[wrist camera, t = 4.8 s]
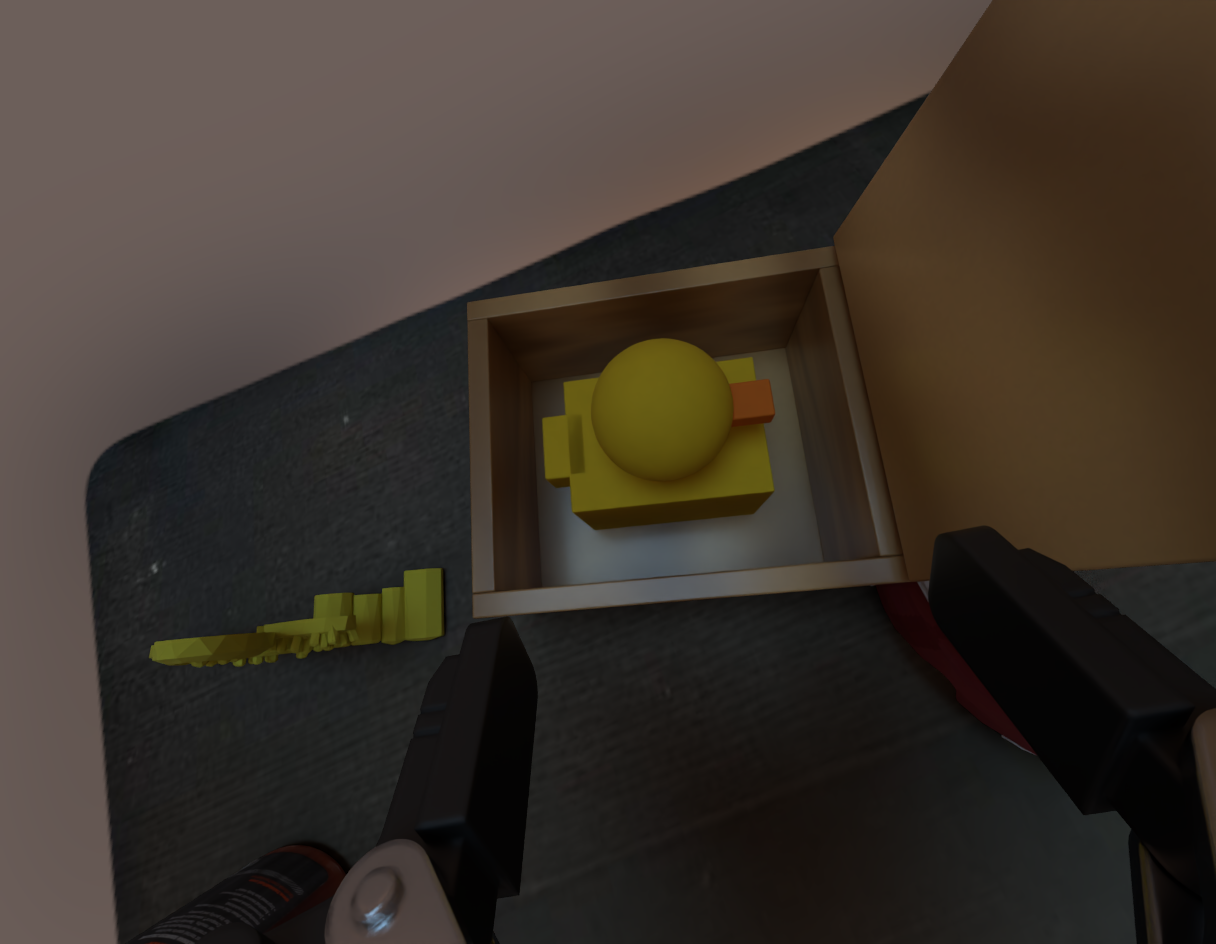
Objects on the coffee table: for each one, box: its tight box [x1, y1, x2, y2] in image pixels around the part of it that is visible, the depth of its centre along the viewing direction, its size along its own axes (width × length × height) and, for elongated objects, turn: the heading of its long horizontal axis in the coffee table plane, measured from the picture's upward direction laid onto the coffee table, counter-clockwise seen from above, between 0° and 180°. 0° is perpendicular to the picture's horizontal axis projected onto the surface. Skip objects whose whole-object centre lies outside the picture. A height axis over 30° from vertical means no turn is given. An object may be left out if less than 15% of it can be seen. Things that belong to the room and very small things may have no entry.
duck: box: [542, 338, 775, 530], centre depth 19 cm, size 8×5×10 cm, turn 95°
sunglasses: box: [871, 581, 1038, 756], centre depth 20 cm, size 17×17×5 cm
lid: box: [833, 0, 1216, 582], centre depth 9 cm, size 14×12×4 cm
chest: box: [467, 246, 911, 619], centre depth 21 cm, size 14×12×7 cm
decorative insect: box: [149, 568, 444, 667], centre depth 21 cm, size 13×3×10 cm
